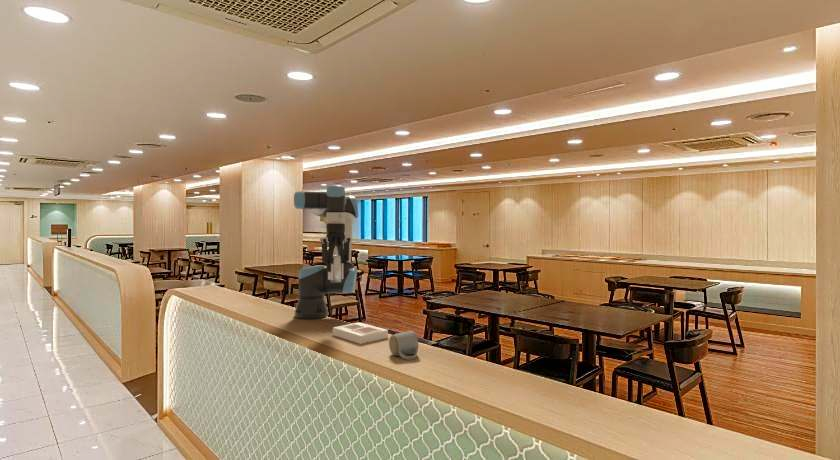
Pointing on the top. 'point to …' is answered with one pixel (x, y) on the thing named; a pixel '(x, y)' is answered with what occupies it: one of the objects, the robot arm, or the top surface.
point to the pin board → (360, 332)
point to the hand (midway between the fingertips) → (335, 278)
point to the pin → (336, 268)
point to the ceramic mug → (404, 344)
